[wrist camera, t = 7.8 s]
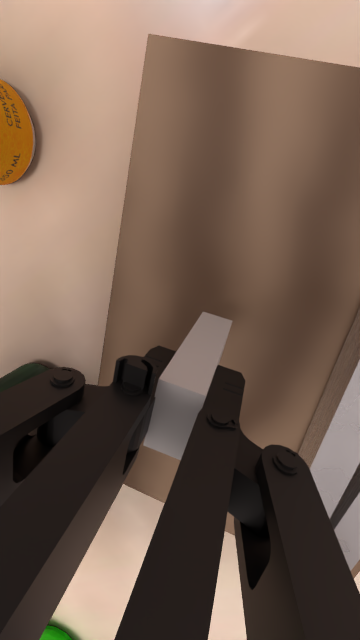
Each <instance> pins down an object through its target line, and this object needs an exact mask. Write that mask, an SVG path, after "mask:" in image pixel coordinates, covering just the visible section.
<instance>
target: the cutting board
mask: <svg viewBox="0 0 360 640" xmlns="http://www.w3.org/2000/svg"><path fill="white" fill-rule="evenodd" d="M359 307H360V68H358V67H351V66H345V65H339V64H333V63H326V62H320V61H314V60H308V59H302V58H295V57H289V56H283V55H277V54H270V53H264V52H258V51H252V50H246V49H239V48H233V47H227V46H221V45H215V44H208V43H202V42H196V41H190V40H183V39H177V38H171V37H165V36H159V35H152V34H148V40H147V47H146V54H145V61H144V68H143V75H142V82H141V89H140V96H139V103H138V110H137V117H136V124H135V131H134V138H133V144H132V151H131V158H130V165H129V172H128V179H127V186H126V193H125V200H124V207H123V214H122V221H121V228H120V235H119V242H118V249H117V256H116V263H115V270H114V276H113V283H112V290H111V297H110V304H109V311H108V318H107V325H106V332H105V339H104V346H103V353H102V360H101V367H100V374H99V381H98V386H109V385H110V384H111V383H112V382H113V377H114V371H115V364H116V360H117V359H118V358H120V357H122V356H127V355H137V356H141V357H144V356H145V355H146V353H147V352H148V351H149V350H150V349H152V348H154V347H157V346H162V347H165V348H168V349H171V350H174V351H177V350H178V349H179V347H180V346H181V344H182V343H183V341H184V340H185V338H186V337H187V335H188V334H189V332H190V331H191V329H192V328H193V326H194V325H195V323H196V322H197V320H198V318H199V317H200V315H201V314H202V312H206V313H209V314H213V315H216V316H219V317H222V318H225V319H229V320H232V324H231V327H230V331H229V334H228V337H227V340H226V343H225V346H224V350H223V353H222V356H221V359H220V362H219V365H220V366H223V367H226V368H229V369H232V370H235V371H238V372H241V373H242V375H243V377H244V379H245V387H244V393H243V399H242V405H241V411H240V417H239V423H240V428H241V430H242V432H243V433H244V435H245V436H246V437H247V438H248V439H249V440H250V441H252V442H253V443H254V444H256V445H257V446H259V447H260V448H262V449H264V448H265V447H266V446H269V445H271V444H273V445H282V446H284V447H287V448H289V449H291V450H293V451H294V452H296V453H297V454H298V451H299V449H300V447H301V444H302V442H303V440H304V437H305V435H306V432H307V430H308V428H309V425H310V423H311V421H312V418H313V416H314V414H315V411H316V409H317V407H318V404H319V402H320V399H321V397H322V395H323V392H324V390H325V388H326V385H327V383H328V381H329V378H330V376H331V373H332V371H333V369H334V366H335V364H336V362H337V359H338V357H339V355H340V352H341V350H342V347H343V345H344V343H345V340H346V338H347V336H348V333H349V331H350V329H351V326H352V324H353V322H354V319H355V317H356V314H357V312H358V310H359ZM144 440H145V437H144V439H143V441H142V443H141V445H140V448H139V452H138V456H137V459H136V460H135V462H134V464H133V466H132V468H131V470H130V472H129V473H128V475H127V477H126V479H125V481H124V483H123V484H125V485H127V486H129V487H131V488H133V489H135V490H138V491H140V492H142V493H144V494H146V495H148V496H151V497H153V498H155V499H157V500H159V501H161V502H164V503H165V501H166V499H167V496H168V493H169V491H170V488H171V485H172V483H173V480H174V477H175V474H176V472H177V469H178V466H179V464H180V461H181V460H179V459H176V458H174V457H171V456H169V455H166V454H164V453H161V452H159V451H156V450H154V449H151V448H149V447H146V446H144V445H143V444H144ZM225 531H226V532H228V533H231V534H233V535H235V530H234V516H232V515H231V514H230V513H229V512H227V519H226V525H225ZM359 571H360V560H359V561H358V562H357V563H356V565H355V566H354V567H353V569H352V570H351V574H352V576H353V579H354V578H355V576H356V575H357V574H358V573H359Z"/></svg>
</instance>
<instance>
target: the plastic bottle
mask: <svg viewBox="0 0 360 640" xmlns="http://www.w3.org/2000/svg"><path fill="white" fill-rule="evenodd" d="M39 640H72V639H71V638H70V637H69V635H68V634H67V633H65V632H64V631H62V630H60V629H59V628H57V627H54V626H46V628H45V630H44V632H43V634H42V636H41V638H40V639H39Z"/></svg>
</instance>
